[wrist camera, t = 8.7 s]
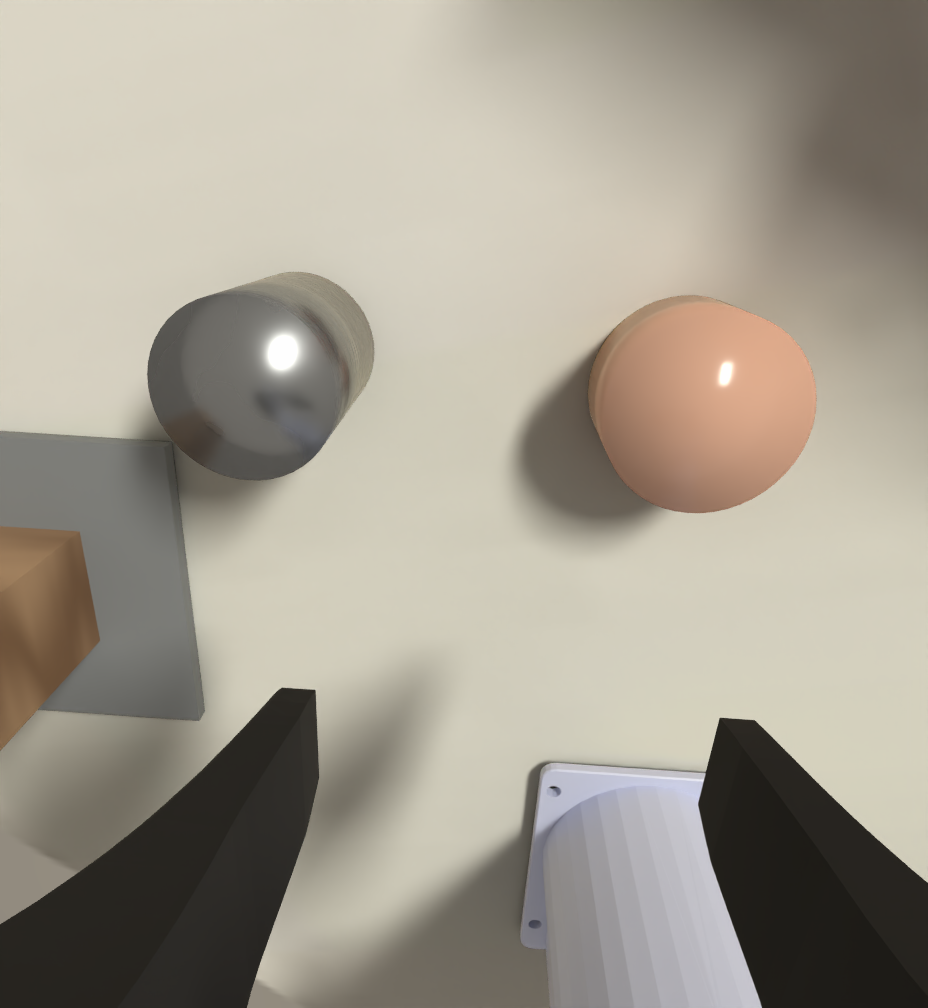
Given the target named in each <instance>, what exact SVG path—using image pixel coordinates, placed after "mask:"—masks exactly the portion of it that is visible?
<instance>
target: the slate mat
mask: <svg viewBox="0 0 928 1008" xmlns="http://www.w3.org/2000/svg"><path fill="white" fill-rule="evenodd" d="M0 526H5V527H21V528H36V529H51V530H66V531H80V536H81V541H82V547H83V552H84V557H85V562H86V568H87V573H88V578H89V584H90V589H91V594H92V599H93V605H94V610H95V615H96V621H97V626H98V631H99V636H100V641H99V643H98V644H97V645H96V646H95V647H94V648H93V649H92V650H91V651H90V652H89V654H88V655H87V656H86V657H85V658H84V659H83V660H82V661H81V662H80V663H79V665H78V666H77V667H76V668H75V669H74V670H73V671H72V672H71V673H70V674H69V676H68V677H67V678H66V679H65V680H64V681H63V682H62V683H61V684H60V685H59V687H58V688H57V689H56V690H55V691H54V692H53V693H52V694H51V695H50V696H49V698H48V699H47V700H46V701H45V702H44V703H43V704H42V705H41V706H40V707H39V709H38V710H51V711H65V712H79V713H94V714H108V715H122V716H137V717H151V718H165V719H180V720H194V721H199V720H200V719H201V717H202V715H203V713H204V712H205V708H204V700H203V692H202V684H201V676H200V668H199V660H198V651H197V643H196V635H195V627H194V619H193V611H192V603H191V594H190V586H189V578H188V570H187V562H186V554H185V545H184V537H183V529H182V521H181V513H180V505H179V497H178V488H177V480H176V472H175V464H174V456H173V448H172V442H165V441H149V440H134V439H118V438H102V437H86V436H70V435H55V434H39V433H23V432H7V431H0Z"/></svg>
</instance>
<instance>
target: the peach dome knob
mask: <svg viewBox="0 0 928 1008" xmlns="http://www.w3.org/2000/svg"><path fill="white" fill-rule="evenodd" d="M588 404H589V410H590V415H591V418H592V421H593V424H594V426H595V429H596V431H597V433H598V435H599V437H600V440H601V442H602V444H603V446H604V448H605V450H606V453H607V455H608V457H609V459H610V461H611V463H612V465H613V467H614V469H615V471H616V472H617V474H618V475H619V476H620V478H621V479H622V480H623V482H624V483H625V484H626V485H627V486H628V487H629V488H630V489H631V490H632V491H634V492H635V493H636V494H638V495H639V496H640V497H642V498H643V499H645V500H647V501H649V502H650V503H652V504H655V505H657V506H660V507H662V508H665V509H669V510H673V511H678V512H685V513H706V512H715V511H720V510H724V509H728V508H731V507H734V506H737V505H740V504H742V503H744V502H746V501H749V500H751V499H753V498H755V497H756V496H758V495H759V494H761V493H763V492H764V491H766V490H767V489H768V488H770V487H771V486H772V485H774V484H775V483H776V482H777V481H778V480H779V479H780V478H781V477H782V476H783V475H784V474H785V473H786V472H787V471H788V470H789V469H790V467H791V466H792V465H793V464H794V463H795V461H796V460H797V458H798V457H799V455H800V453H801V452H802V450H803V448H804V446H805V444H806V442H807V440H808V438H809V435H810V432H811V429H812V426H813V422H814V417H815V412H816V385H815V381H814V376H813V372H812V370H811V367H810V365H809V362H808V360H807V358H806V356H805V355H804V353H803V351H802V349H801V348H800V347H799V346H798V344H797V343H796V342H795V341H794V340H793V338H792V337H790V336H789V335H788V334H787V333H786V332H785V331H784V330H783V329H781V328H779V327H778V326H776V325H775V324H773V323H772V322H770V321H768V320H765V319H763V318H761V317H759V316H756V315H754V314H751V313H749V312H746V311H744V310H742V309H739V308H737V307H734V306H732V305H729V304H727V303H725V302H722V301H720V300H716V299H713V298H709V297H703V296H676V297H670V298H666V299H662V300H659V301H656V302H653V303H651V304H649V305H646V306H644V307H643V308H641V309H639V310H637V311H635V312H634V313H633V314H631V315H630V316H629V317H627V318H626V319H624V320H623V321H622V322H621V323H620V324H619V325H618V326H617V327H616V328H615V329H614V330H613V331H612V333H611V334H610V335H609V336H608V337H607V339H606V340H605V342H604V343H603V345H602V346H601V348H600V350H599V352H598V354H597V356H596V358H595V360H594V363H593V366H592V369H591V373H590V378H589V383H588Z"/></svg>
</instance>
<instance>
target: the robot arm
mask: <svg viewBox="0 0 928 1008" xmlns="http://www.w3.org/2000/svg"><path fill="white" fill-rule="evenodd" d="M318 780H319V764H318V740H317V716H316V692H315V690H307V689H292V688H281V689H280V690H278V691H277V692H276V693H275V694H274V695H273V696H272V697H271V698H270V699H269V701H268V702H267V703H266V704H265V705H264V706H263V707H262V708H261V709H260V711H259V712H258V713H257V714H256V715H255V716H254V717H253V718H252V719H251V720H250V721H249V723H248V724H247V725H246V726H245V727H244V728H243V729H242V730H241V731H240V732H239V733H238V734H237V735H236V736H235V737H234V738H233V739H232V741H231V742H230V743H229V744H228V745H227V746H226V747H225V748H224V749H223V750H222V751H221V752H220V753H219V754H218V755H217V756H216V757H215V758H214V759H213V760H212V761H211V762H210V763H209V764H208V765H207V766H206V767H205V768H204V769H203V770H202V771H201V772H199V773H198V774H197V775H196V776H195V777H194V778H193V779H192V780H191V781H190V782H189V783H188V784H187V785H185V786H184V787H183V788H182V789H181V790H180V791H179V792H178V793H177V794H176V795H174V796H173V797H172V798H171V799H170V800H169V801H168V802H167V803H166V804H165V805H164V806H162V807H161V808H160V809H159V810H158V811H157V812H156V813H154V814H153V815H152V816H151V817H150V818H148V819H147V820H146V821H145V822H144V823H143V824H141V825H140V826H139V827H138V828H137V829H135V830H134V831H133V832H132V833H130V834H129V835H128V836H127V837H125V838H124V839H123V840H122V841H120V842H119V843H118V844H116V845H115V846H114V847H113V848H111V849H110V850H109V851H108V852H106V853H105V854H104V855H102V856H101V857H100V858H98V859H97V860H95V861H94V862H93V863H91V864H90V865H88V866H87V867H86V868H84V869H83V870H82V871H80V872H79V873H77V874H76V875H75V876H73V877H72V878H70V879H69V880H67V881H66V882H65V883H63V884H61V885H60V886H59V887H57V888H56V889H54V890H53V891H52V892H50V893H48V894H47V895H46V896H44V897H43V898H41V899H40V900H38V901H37V902H35V903H34V904H32V905H31V906H29V907H27V908H26V909H24V910H23V911H21V912H19V913H18V914H16V915H15V916H13V917H11V918H10V919H8V920H7V921H5V922H3V923H2V924H0V1008H247V1005H248V1001H249V997H250V994H251V990H252V987H253V984H254V981H255V977H256V974H257V971H258V968H259V965H260V962H261V959H262V956H263V953H264V951H265V948H266V945H267V942H268V939H269V936H270V934H271V931H272V928H273V925H274V922H275V920H276V917H277V914H278V911H279V908H280V906H281V903H282V900H283V897H284V894H285V892H286V889H287V886H288V883H289V880H290V878H291V875H292V872H293V869H294V866H295V863H296V861H297V858H298V855H299V852H300V849H301V846H302V843H303V841H304V838H305V835H306V831H307V827H308V823H309V819H310V815H311V811H312V806H313V802H314V797H315V793H316V789H317V784H318ZM551 786H556V787H557V788H553V789H551V788H549V787H551ZM520 941H521V943H522V944H523V945H524V946H525V947H527V948H532V949H545V950H546V961H547V975H548V989H549V1004H550V1008H928V883H927V882H926V881H925V880H924V879H922V878H921V877H920V876H919V875H918V874H916V873H915V872H914V871H913V870H912V869H910V868H909V867H908V866H907V865H906V864H905V863H904V862H902V861H901V860H900V859H899V858H898V857H897V856H896V855H894V854H893V853H892V852H891V851H890V850H889V849H888V848H886V847H885V846H884V845H883V844H882V843H881V842H880V841H878V840H877V839H876V838H875V837H874V836H873V835H872V834H871V833H870V832H869V831H867V830H866V829H865V828H864V827H863V826H862V825H861V824H860V823H859V822H858V821H857V820H856V819H854V818H853V817H852V816H851V815H850V814H849V813H848V812H847V811H846V810H845V809H844V808H843V807H842V806H841V805H840V804H839V803H838V802H837V801H836V800H835V799H834V798H832V797H831V796H830V795H829V794H828V793H827V792H826V791H825V790H824V789H823V788H822V787H821V786H820V785H819V784H818V783H817V782H816V781H815V780H814V779H813V778H812V777H811V776H810V775H809V774H808V773H807V772H806V771H805V770H804V769H803V768H802V767H801V766H800V765H799V764H798V763H797V762H796V761H795V760H794V759H793V758H792V757H791V756H790V755H789V754H788V753H787V752H786V751H785V750H784V749H783V748H782V747H781V746H780V745H779V744H778V743H777V742H776V741H775V740H774V739H773V738H772V737H771V736H770V735H769V734H768V733H767V732H766V731H765V730H764V729H763V728H762V727H761V726H760V725H759V724H758V723H757V722H756V721H755V720H743V719H729V718H720V719H719V723H718V727H717V731H716V735H715V739H714V743H713V747H712V751H711V754H710V758H709V762H708V766H707V770H706V773H695V772H680V771H666V770H652V769H638V768H623V767H609V766H595V765H580V764H566V763H550V764H547V765H545V766H544V767H543V768H542V770H541V772H540V779H539V787H538V795H537V803H536V810H535V818H534V826H533V834H532V842H531V850H530V857H529V865H528V873H527V881H526V889H525V896H524V904H523V912H522V920H521V928H520Z"/></svg>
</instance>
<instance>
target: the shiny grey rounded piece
mask: <svg viewBox="0 0 928 1008" xmlns="http://www.w3.org/2000/svg"><path fill="white" fill-rule="evenodd" d="M373 362H374V341H373V336H372V332H371V329H370V326H369V323H368V321H367V319H366V317H365V314H364V313H363V311H362V310H361V308H360V306H359V305H358V304H357V303H356V301H355V300H354V299H353V298H352V297H351V296H350V295H349V294H348V293H347V292H346V291H345V290H344V289H342V288H341V287H340V286H338V285H337V284H335V283H333V282H331V281H330V280H328V279H325V278H323V277H321V276H318V275H314V274H310V273H303V272H287V273H281V274H277V275H274V276H271V277H267V278H264V279H261V280H258V281H255V282H251V283H248V284H245V285H242V286H238V287H235V288H232V289H229V290H226V291H222V292H219V293H216V294H213V295H209V296H206V297H203V298H200V299H197V300H195V301H193V302H190V303H188V304H186V305H185V306H183V307H182V308H180V309H179V310H178V311H176V312H175V313H174V314H173V315H172V316H171V317H170V318H169V319H168V320H167V321H166V322H165V324H164V325H163V326H162V328H161V329H160V331H159V332H158V334H157V336H156V338H155V340H154V343H153V345H152V348H151V351H150V356H149V361H148V373H147V375H148V388H149V393H150V398H151V401H152V404H153V407H154V410H155V412H156V414H157V417H158V419H159V421H160V423H161V424H162V426H163V427H164V429H165V431H166V432H167V434H168V435H169V436H170V437H171V439H172V440H173V441H174V443H175V444H176V445H177V446H178V447H179V448H180V449H181V450H182V451H183V452H185V453H186V454H187V455H188V456H189V457H191V458H192V459H193V460H195V461H196V462H198V463H199V464H201V465H202V466H204V467H206V468H208V469H210V470H212V471H214V472H217V473H219V474H222V475H225V476H228V477H232V478H236V479H243V480H267V479H273V478H277V477H281V476H284V475H287V474H289V473H291V472H294V471H295V470H297V469H299V468H301V467H302V466H304V465H305V464H306V463H307V462H309V461H310V460H311V459H312V458H313V457H314V456H315V455H316V454H317V453H318V452H319V451H320V449H321V448H322V446H323V445H324V444H325V442H326V441H327V439H328V438H329V437H330V435H331V434H332V432H333V431H334V430H335V428H336V427H337V425H338V424H339V423H340V421H341V420H342V418H343V417H344V416H345V414H346V413H347V411H348V410H349V409H350V407H351V406H352V404H353V403H354V402H355V400H356V399H357V397H358V396H359V395H360V393H361V392H362V390H363V389H364V387H365V386H366V384H367V382H368V380H369V377H370V374H371V371H372V367H373Z"/></svg>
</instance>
